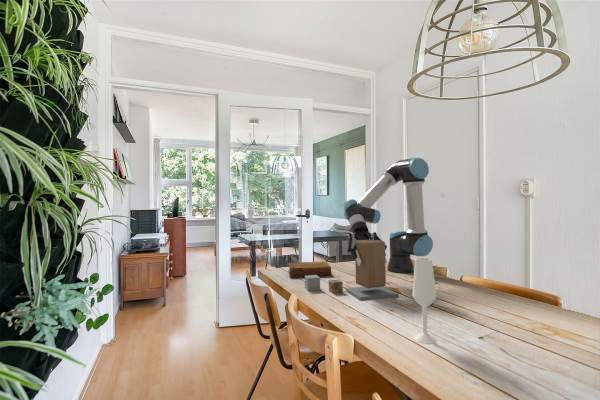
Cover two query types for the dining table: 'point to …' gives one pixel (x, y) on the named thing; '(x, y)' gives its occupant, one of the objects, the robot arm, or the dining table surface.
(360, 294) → the slate grey board
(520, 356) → the dining table surface
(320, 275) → the diary
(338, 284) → the walnut cube
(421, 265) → the champagne flute
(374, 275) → the wooden block
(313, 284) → the blue grey box
